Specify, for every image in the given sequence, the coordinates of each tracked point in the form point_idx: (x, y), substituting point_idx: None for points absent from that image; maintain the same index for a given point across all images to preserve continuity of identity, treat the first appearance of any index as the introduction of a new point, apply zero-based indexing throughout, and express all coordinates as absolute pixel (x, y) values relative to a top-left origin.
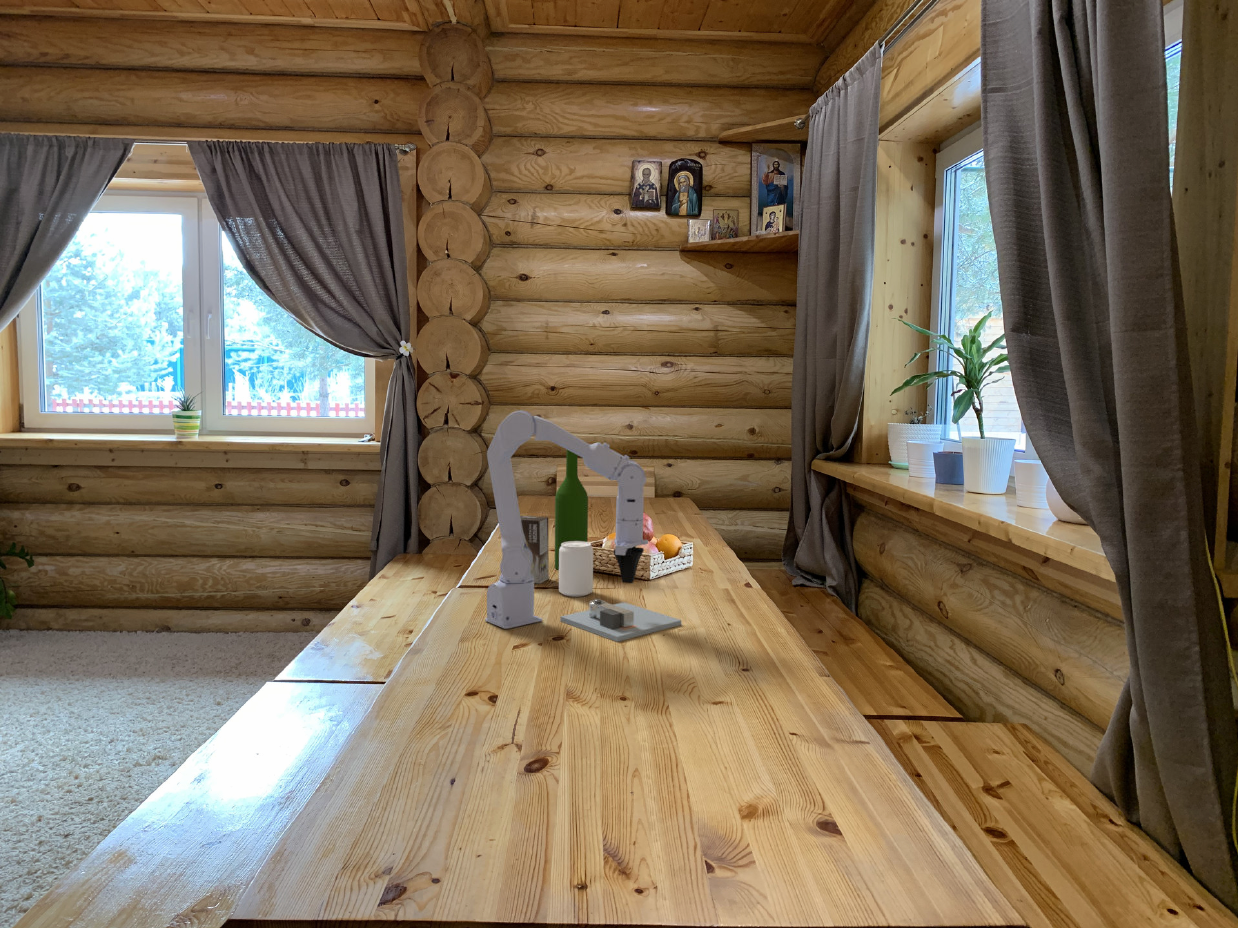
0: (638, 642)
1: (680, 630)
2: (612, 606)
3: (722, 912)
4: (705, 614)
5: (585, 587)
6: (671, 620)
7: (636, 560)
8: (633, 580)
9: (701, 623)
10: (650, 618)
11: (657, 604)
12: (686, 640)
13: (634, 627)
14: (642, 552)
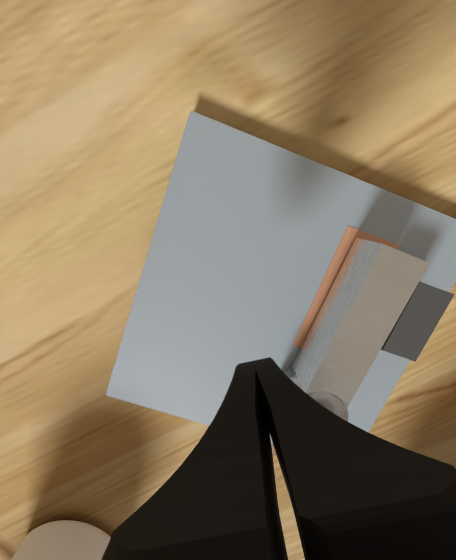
0: (451, 165)
1: (259, 87)
2: (347, 349)
3: None
4: (5, 86)
5: (75, 547)
6: (217, 145)
7: (362, 440)
8: (249, 364)
9: (130, 47)
10: (234, 229)
11: (13, 308)
12: (366, 7)
13: (362, 229)
14: (157, 524)
